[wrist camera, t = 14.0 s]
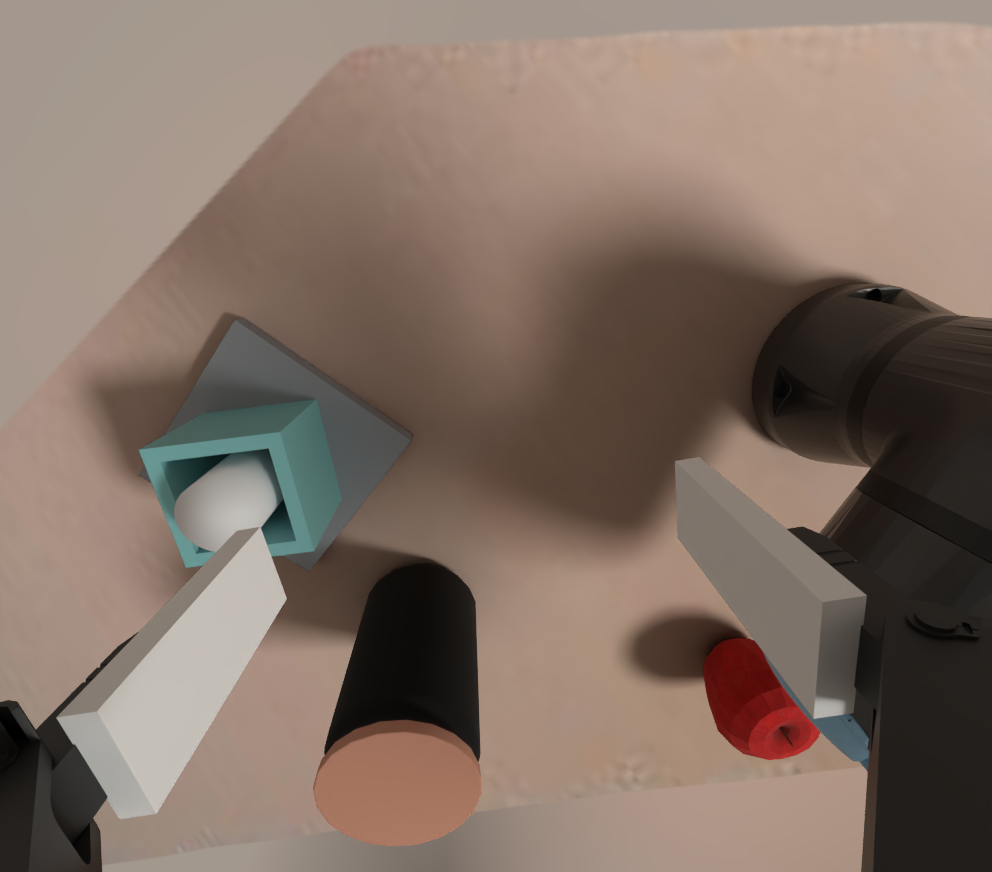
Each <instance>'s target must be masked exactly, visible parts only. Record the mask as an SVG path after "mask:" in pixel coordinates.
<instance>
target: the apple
mask: <svg viewBox="0 0 992 872" xmlns="http://www.w3.org/2000/svg"><path fill="white" fill-rule="evenodd" d="M703 675H704V681H705V687H706V693H707V697H708V701H709V705H710V708H711V711H712V714H713V717H714V720H715V723H716V726H717V729H718V731H719V732H720V733H721V734H722V735H723V736H724V737H725V738H726V739H727V740H728V741H729V742H730V743H731V745H732V746H734V747H735V748H736V749H738V750H739V751H740V752H742V753H743V754H746V755H750V756H755V757H759V758H763V759H767V760H774V759H783V758H787V757H790V756H794V755H797V754H799V753H801V752H803V751H805V750H806V749H808V748H810V747H811V745H812V744H813V743H814V742H815V741H816V740H817V738H818V737H819V734H820V731H819V730H818V729H817V728H816V727H815V726H814V724H813V723H812V722H811V721H810V720H809V719H808V718H807V717H806V716H805V714H804V713H803V712H802V711H801V710H800V708H799V707H798V706H797V705H796V704H795V702H794V701H793V700H792V699H791V697H790V696H789V695H788V693H787V692H786V691H785V689H784V688H783V686H782V685H781V684H780V682H779V681H778V679H777V677H776V676H775V674H774V673H773V671H772V669H771V667H770V665H769V664H768V662H767V660H766V658H765V656H764V653H763V651H762V650H761V648H760V647H759V646H758V644H757V643H756V642H755V641H754V640H751V639H742V638H735V639H728V640H724V641H721V642H720V643H718V644H717V645H716V646H715V647H714V649H713V650H712V651H711V653H710V654H709V655H708V657H707V658H706V659H705V662H704V667H703Z"/></svg>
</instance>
